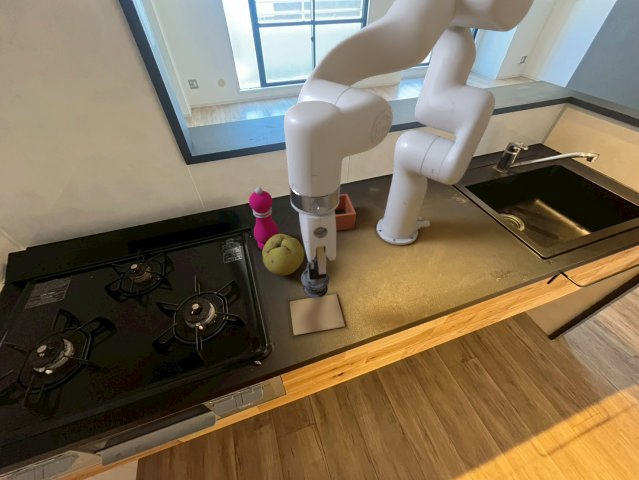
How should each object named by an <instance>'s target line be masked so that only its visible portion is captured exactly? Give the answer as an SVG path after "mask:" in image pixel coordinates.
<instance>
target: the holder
mask: <svg viewBox="0 0 639 480" xmlns="http://www.w3.org/2000/svg"><path fill="white" fill-rule="evenodd" d="M342 210H344V212H345V213H339V214H335V219H336V232H338V231H344V230H345V231H346V230H352V229H353V230H354V229H355V226H356V219H357V218H356V217H357V212H356V210H355V208H354V206H353V203H352V201H351V199H350V196H349V194H348V193H340V198H339V205H338V206H337V208H336V209H335V211H342Z"/></svg>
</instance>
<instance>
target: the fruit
mask: <svg viewBox="0 0 639 480" xmlns="http://www.w3.org/2000/svg"><path fill="white" fill-rule="evenodd" d="M261 254H262V262H263V266H264V267H265V268H266V269H267V270H268V271H269V272H270V273H271V274H273V275H276V276H280V277H285V276H288V275H291V274H293V273H295V272H296V271H297V270H298V269H299V267H300V266H301V265H302V264H303V261H304V256H305V249H304V248H303V246H302V244H301V243H300V241H299V240H298V239H297V238H295V237H292V236H291V235H289V234H285V233H279V234H277V235H274V236H272V237H271V238H270V239H269V240H268V241H267V242H266V244H265V246H264V248H263V250H262V252H261Z"/></svg>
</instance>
